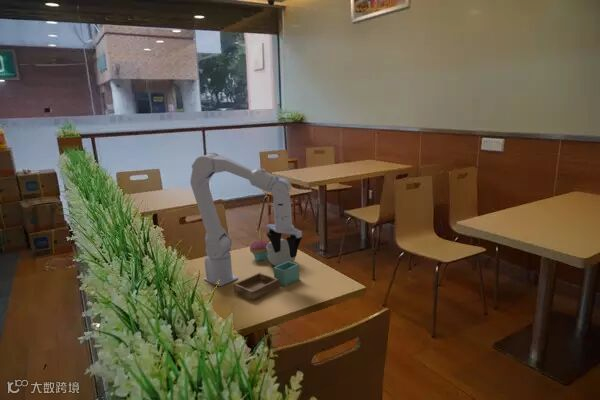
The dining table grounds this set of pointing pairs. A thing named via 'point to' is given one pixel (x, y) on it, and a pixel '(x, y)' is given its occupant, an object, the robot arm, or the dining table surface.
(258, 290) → the walnut crate
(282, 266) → the teal crate
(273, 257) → the teacup
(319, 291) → the dining table surface
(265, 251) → the cupcake
